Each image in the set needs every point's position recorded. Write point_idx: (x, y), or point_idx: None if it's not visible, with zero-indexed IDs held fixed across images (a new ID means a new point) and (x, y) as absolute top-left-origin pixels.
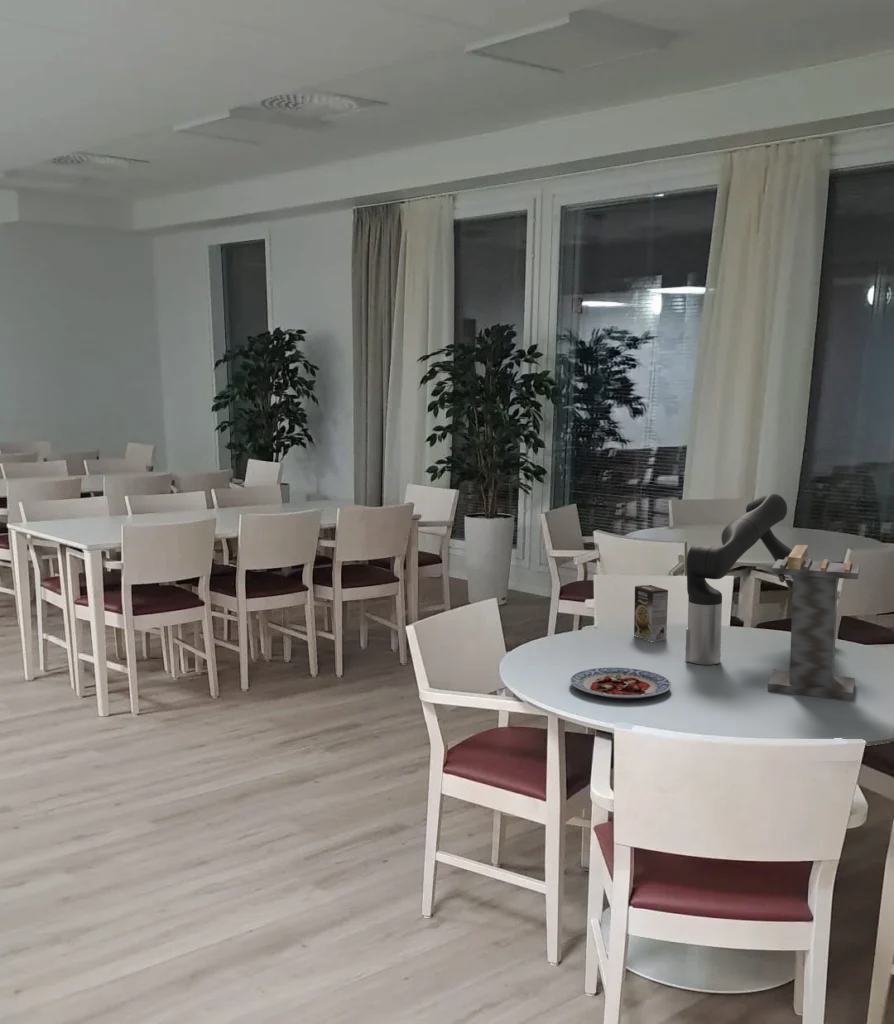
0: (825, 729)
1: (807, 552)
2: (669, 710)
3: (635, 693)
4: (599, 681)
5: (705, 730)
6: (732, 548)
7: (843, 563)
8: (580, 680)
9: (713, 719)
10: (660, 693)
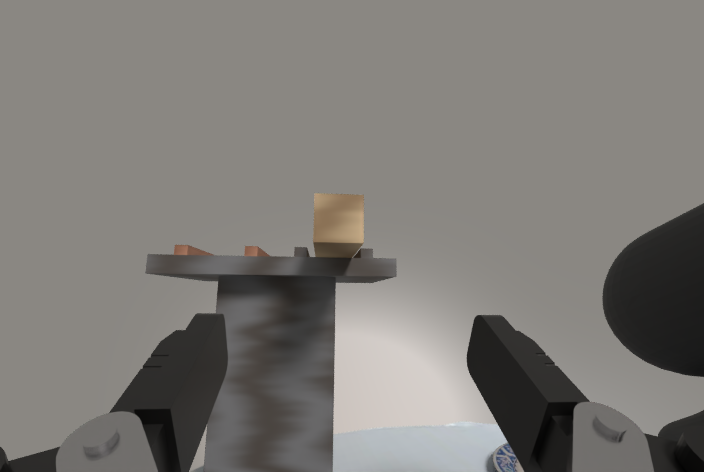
0: None
1: (314, 224)
2: (456, 453)
3: None
4: None
5: (390, 432)
6: (682, 232)
7: (199, 255)
8: None
9: (397, 449)
10: (493, 460)
